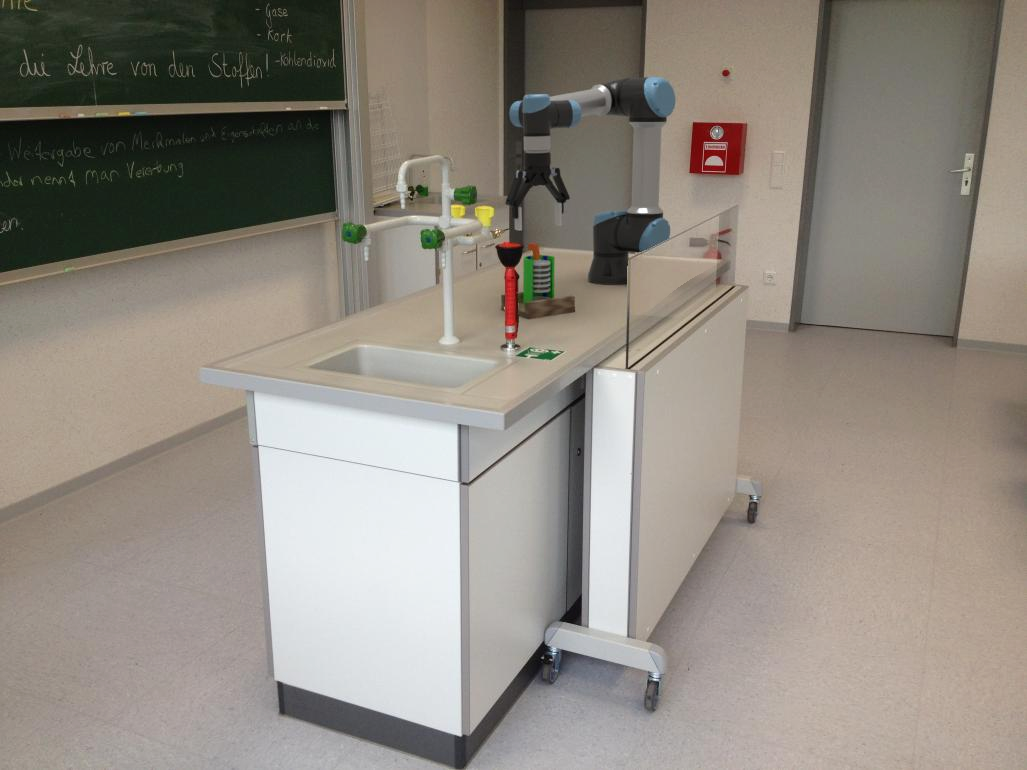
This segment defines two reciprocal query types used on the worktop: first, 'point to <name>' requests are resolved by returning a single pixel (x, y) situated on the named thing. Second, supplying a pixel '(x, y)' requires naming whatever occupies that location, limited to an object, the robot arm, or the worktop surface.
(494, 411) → the worktop surface
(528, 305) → the housing
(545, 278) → the green-shelled ribbed roller
